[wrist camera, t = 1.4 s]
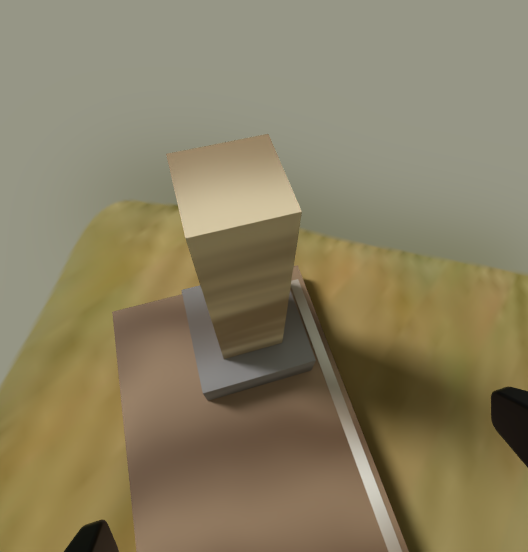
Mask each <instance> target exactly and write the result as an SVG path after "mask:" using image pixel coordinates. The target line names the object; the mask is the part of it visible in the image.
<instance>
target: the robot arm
mask: <svg viewBox="0 0 528 552" xmlns="http://www.w3.org/2000/svg"><path fill="white" fill-rule="evenodd" d="M491 419H492V423H493V426H494V427H495V429H496V431H497V432H498V433H499V434H500V435H501V437H502V438H503V439H504V440H505V441H506V442H507V444H508V445H509V446H510V447H511V448H512V450H513V451H514V452H515V453H516V454H517V455H518V457H519V458H520V459H521V460H522V461H523V463H524V464H525V465H526V466H527V467H528V391H524V390H521V389H517V388H513V387H505V388H502V389H499V390H496V391H494V392H493V393H492V395H491ZM64 552H119V551H118V547H117V545H116V542H115V540H114V538H113V535H112V533H111V531H110V528H109V526H108V524H107V522H106V521H105V520H99V521H96V522H92V523H89V524H86V525H84V526H83V527H82V528H81V529H80V530H79V532H78V533H77V534H76V536H75V537H74V538H73V540H72V541H71V542H70V544H69V545H68V547H67V548H66V549H65V551H64Z"/></svg>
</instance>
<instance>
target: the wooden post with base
mask: <svg viewBox="0 0 528 552" xmlns="http://www.w3.org/2000/svg"><path fill="white" fill-rule="evenodd" d="M166 155H167V159H168V164H169V168H170V172H171V177H172V181H173V185H174V189H175V194H176V198H177V203H178V207H179V212H180V216H181V220H182V225H183V229H184V234H185V238H186V241H187V244H188V248H189V251H190V254H191V257H192V260H193V263H194V267H195V270H196V273H197V276H198V279H199V283H200V286H196V287H192V288H188V289H184V290H182V295H183V300H184V305H185V310H186V314H187V319H188V324H189V329H190V334H191V339H192V344H193V349H194V353H195V358H196V363H197V368H198V373H199V378H200V383H201V388H202V392H203V395H204V396H205V398H206V399H207V400H208V401H209V400H213V399H216V398H220V397H223V396H226V395H230V394H233V393H237V392H240V391H243V390H247V389H250V388H253V387H257V386H260V385H264V384H267V383H270V382H274V381H277V380H281V379H284V378H287V377H291V376H294V375H298V374H301V373H304V372H308V371H311V370H312V368H313V366H314V364H315V361H316V359H315V357H314V354H313V351H312V348H311V346H310V343H309V340H308V337H307V335H306V332H305V329H304V326H303V324H302V321H301V318H300V315H299V313H298V310H297V307H296V304H295V302H294V299H293V296H292V293H291V291H290V287H291V280H292V274H293V267H294V260H295V254H296V247H297V240H298V233H299V227H300V220H301V213H302V211H301V209H300V206H299V204H298V202H297V200H296V197H295V195H294V192H293V190H292V188H291V185H290V183H289V181H288V178H287V176H286V174H285V171H284V169H283V167H282V165H281V162H280V160H279V158H278V155H277V153H276V151H275V148H274V146H273V144H272V141H271V139H270V137H269V135H268V134H265V135H260V136H255V137H250V138H245V139H240V140H234V141H230V142H225V143H220V144H214V145H209V146H204V147H199V148H194V149H189V150H184V151H179V152H174V153H169V154H166Z"/></svg>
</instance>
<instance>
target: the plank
mask: <svg viewBox="0 0 528 552" xmlns="http://www.w3.org/2000/svg"><path fill="white" fill-rule="evenodd" d="M290 291H291V293H292V296H293V299H294V302H295V304H296V307H297V310H298V313H299V315H300V318H301V321H302V324H303V326H304V329H305V332H306V335H307V337H308V340H309V343H310V346H311V348H312V351H313V354H314V357H315V359H316V361H315V364H314V366H313V368H312V370H311V371H308V372H304V373H301V374H298V375H294V376H291V377H287V378H284V379H281V380H277V381H274V382H270V383H267V384H264V385H260V386H257V387H253V388H250V389H247V390H243V391H240V392H237V393H233V394H230V395H226V396H223V397H220V398H216V399H213V400H209V401H208V400H207V399H206V398H205V396H204V395H203V392H202V388H201V383H200V378H199V373H198V368H197V363H196V358H195V353H194V349H193V344H192V339H191V334H190V329H189V324H188V319H187V314H186V310H185V305H184V300H183V295H178V296H174V297H170V298H166V299H162V300H158V301H154V302H150V303H146V304H142V305H138V306H134V307H130V308H126V309H122V310H118V311H114V312H112V313H113V322H114V332H115V342H116V352H117V362H118V372H119V382H120V392H121V402H122V412H123V421H124V431H125V441H126V451H127V461H128V471H129V481H130V491H131V501H132V511H133V520H134V530H135V540H136V550H137V552H409V551H408V548H407V546H406V543H405V540H404V538H403V535H402V533H401V530H400V528H399V525H398V522H397V520H396V517H395V515H394V512H393V510H392V507H391V504H390V502H389V499H388V497H387V494H386V492H385V489H384V486H383V484H382V481H381V479H380V476H379V474H378V471H377V468H376V466H375V463H374V461H373V458H372V456H371V453H370V450H369V448H368V445H367V443H366V440H365V438H364V435H363V432H362V430H361V427H360V425H359V422H358V420H357V417H356V414H355V412H354V409H353V407H352V404H351V402H350V399H349V396H348V394H347V391H346V389H345V386H344V384H343V381H342V378H341V376H340V373H339V371H338V368H337V366H336V363H335V360H334V358H333V355H332V353H331V350H330V348H329V345H328V342H327V340H326V337H325V335H324V332H323V330H322V327H321V324H320V322H319V319H318V317H317V314H316V312H315V309H314V306H313V304H312V301H311V299H310V296H309V294H308V291H307V288H306V286H305V283H304V281H303V278H302V276H301V273H300V270H299V268H298V265H297V266H294V267H293V274H292V280H291V287H290Z"/></svg>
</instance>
